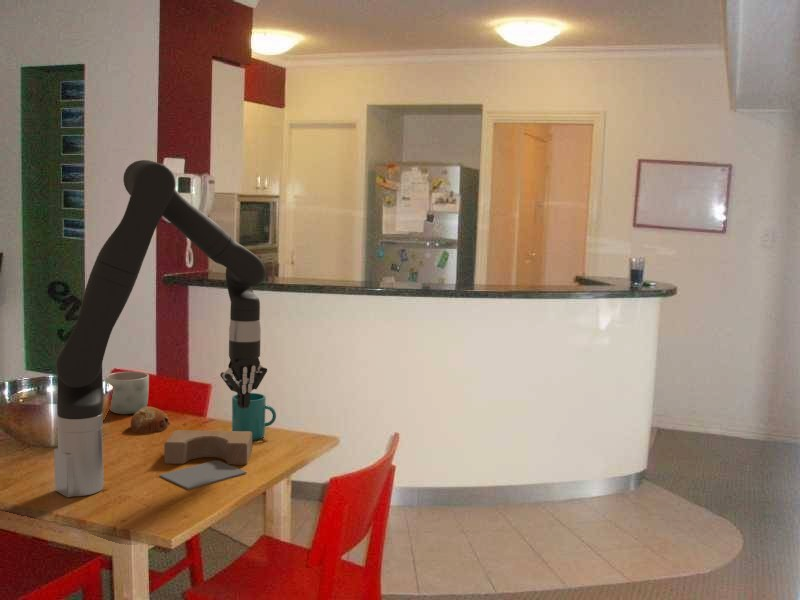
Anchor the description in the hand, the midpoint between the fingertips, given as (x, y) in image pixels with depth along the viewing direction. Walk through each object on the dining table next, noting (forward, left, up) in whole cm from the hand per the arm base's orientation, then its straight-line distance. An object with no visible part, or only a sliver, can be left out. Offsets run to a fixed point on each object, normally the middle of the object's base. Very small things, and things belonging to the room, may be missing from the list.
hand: (243, 407), depth 198 cm
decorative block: (+4, +2, -12) cm, 12 cm away
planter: (+4, +63, -15) cm, 65 cm away
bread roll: (0, +43, -15) cm, 45 cm away
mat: (-12, 0, -14) cm, 18 cm away
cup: (+16, +17, -15) cm, 28 cm away
